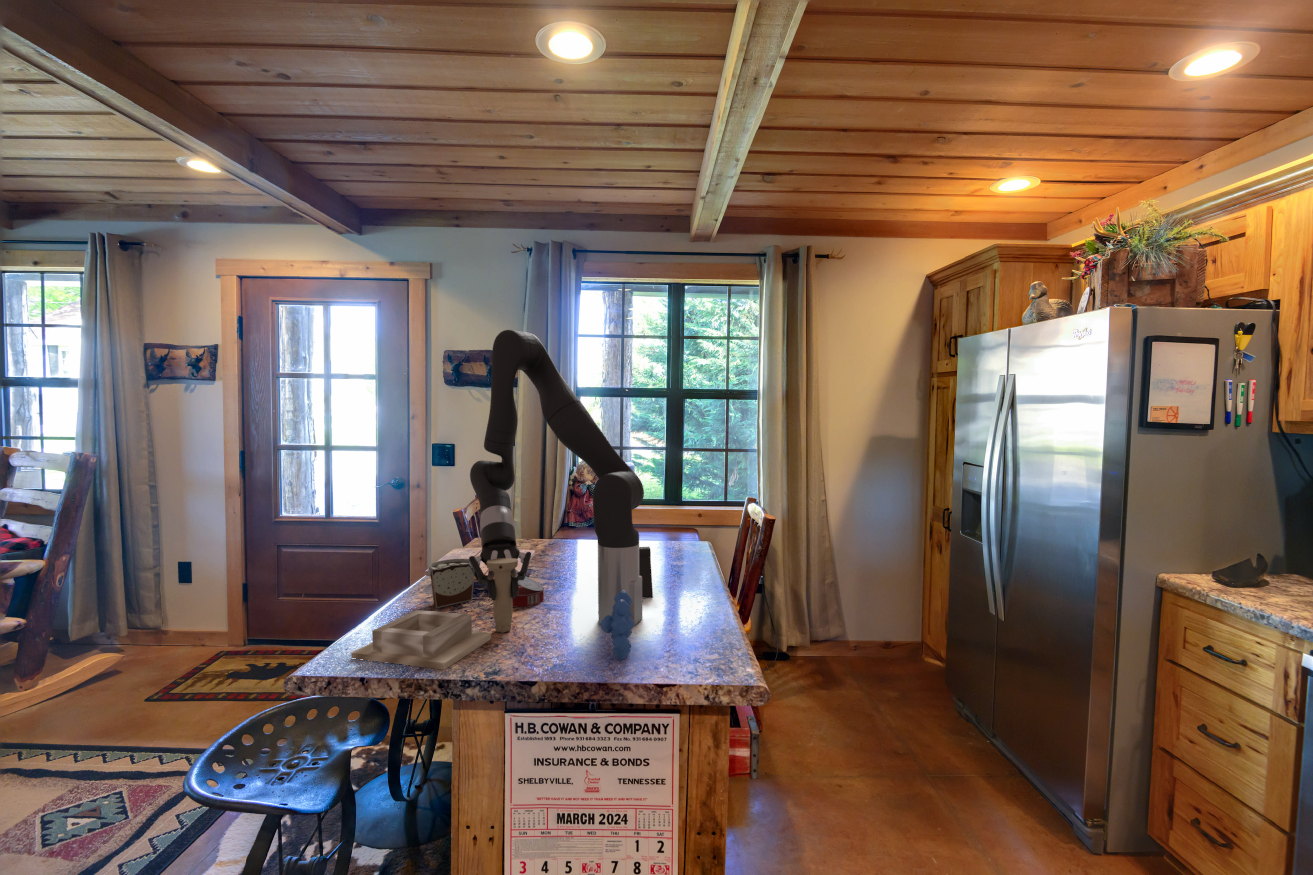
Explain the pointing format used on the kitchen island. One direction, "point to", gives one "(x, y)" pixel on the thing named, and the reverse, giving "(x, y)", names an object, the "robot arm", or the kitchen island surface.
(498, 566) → the handle
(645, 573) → the door stopper
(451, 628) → the socket stand
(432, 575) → the food container
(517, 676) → the kitchen island surface
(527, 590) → the canned food
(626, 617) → the grapes
